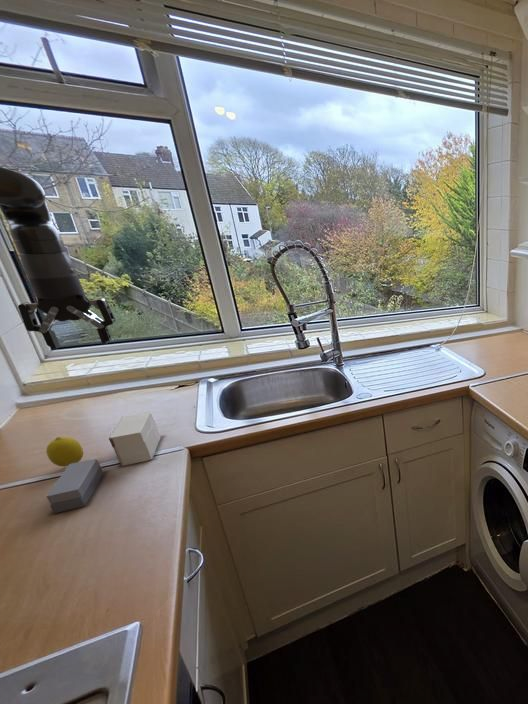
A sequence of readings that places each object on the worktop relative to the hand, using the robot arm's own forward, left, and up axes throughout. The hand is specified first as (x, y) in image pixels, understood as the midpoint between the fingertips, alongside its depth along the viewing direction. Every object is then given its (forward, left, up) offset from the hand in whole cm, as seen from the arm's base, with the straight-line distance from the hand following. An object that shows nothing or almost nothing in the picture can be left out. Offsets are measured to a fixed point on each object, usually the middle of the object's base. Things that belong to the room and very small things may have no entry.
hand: (81, 345), depth 94 cm
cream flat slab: (+5, -7, -22) cm, 23 cm away
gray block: (-3, -20, -27) cm, 34 cm away
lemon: (-8, -7, -27) cm, 29 cm away
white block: (+5, -6, -27) cm, 28 cm away
